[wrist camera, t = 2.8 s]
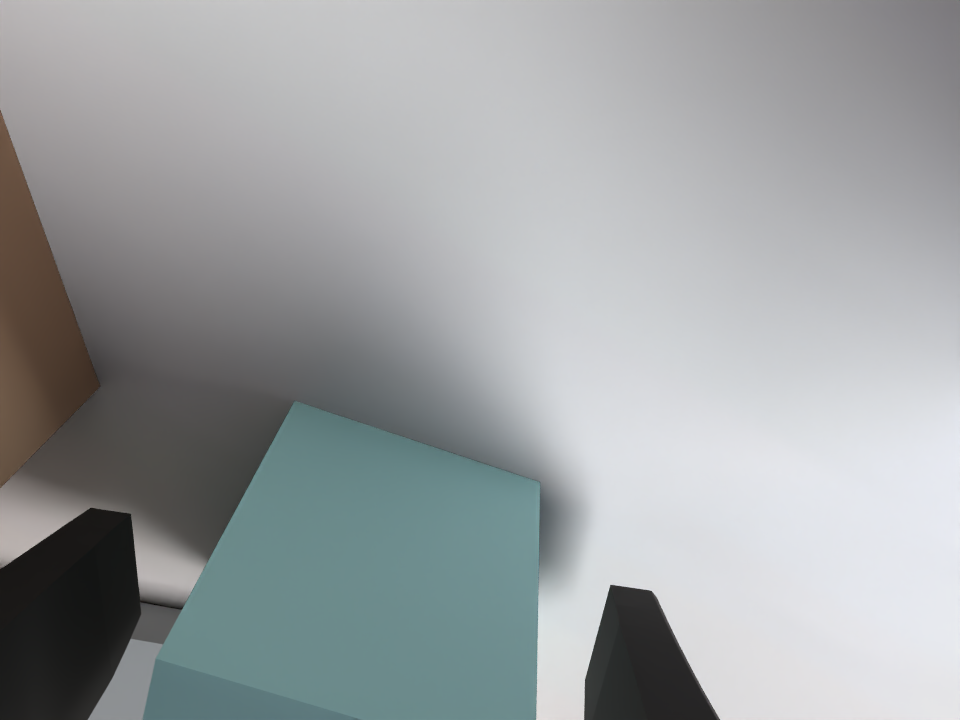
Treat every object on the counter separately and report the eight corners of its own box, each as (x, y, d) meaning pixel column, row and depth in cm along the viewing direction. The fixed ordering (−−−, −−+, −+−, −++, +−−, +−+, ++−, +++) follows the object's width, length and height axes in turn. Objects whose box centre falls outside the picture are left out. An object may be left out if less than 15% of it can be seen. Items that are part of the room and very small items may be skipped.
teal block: (539, 480, 13) (535, 771, 8) (460, 648, 15) (420, 957, 10) (295, 399, 12) (156, 658, 8) (244, 581, 14) (108, 872, 10)
